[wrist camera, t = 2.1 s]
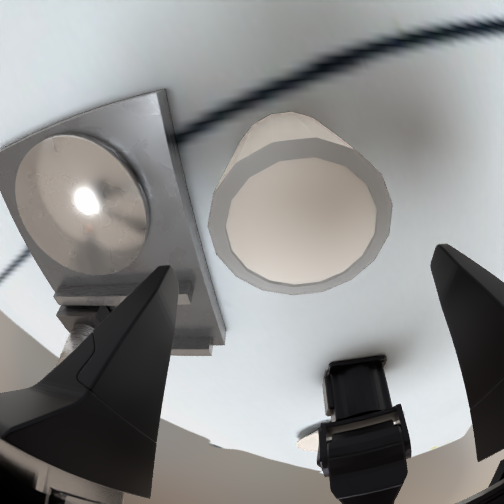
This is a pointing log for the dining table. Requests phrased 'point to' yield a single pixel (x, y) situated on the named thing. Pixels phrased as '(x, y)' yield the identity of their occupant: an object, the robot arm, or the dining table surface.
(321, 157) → the white cup
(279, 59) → the dining table surface
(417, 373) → the dining table surface
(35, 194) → the base
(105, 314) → the press lever
